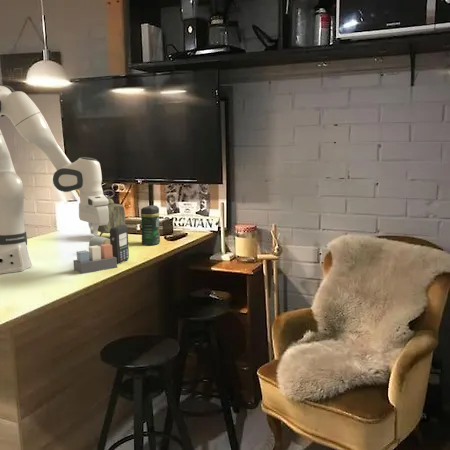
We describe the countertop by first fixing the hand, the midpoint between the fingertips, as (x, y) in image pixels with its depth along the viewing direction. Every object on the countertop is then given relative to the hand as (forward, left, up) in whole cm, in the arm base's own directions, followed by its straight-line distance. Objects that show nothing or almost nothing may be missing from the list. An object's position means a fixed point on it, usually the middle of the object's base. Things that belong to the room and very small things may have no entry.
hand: (94, 233), depth 218 cm
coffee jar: (+41, +28, -14) cm, 52 cm away
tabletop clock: (+32, +53, -14) cm, 64 cm away
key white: (0, 0, -11) cm, 11 cm away
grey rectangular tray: (0, 0, -14) cm, 14 cm away
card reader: (+13, +4, -14) cm, 20 cm away
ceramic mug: (+15, +26, -14) cm, 33 cm away
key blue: (-5, 0, -12) cm, 13 cm away
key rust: (+5, 0, -11) cm, 12 cm away
